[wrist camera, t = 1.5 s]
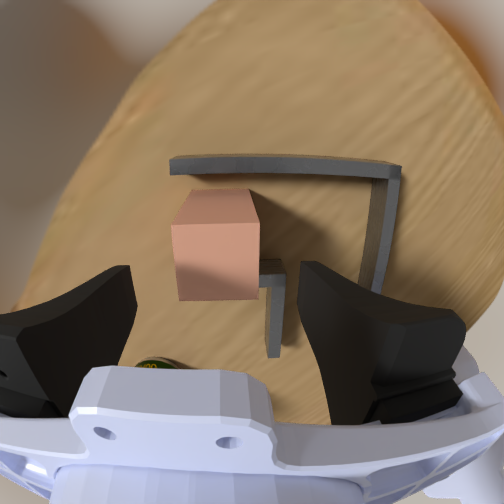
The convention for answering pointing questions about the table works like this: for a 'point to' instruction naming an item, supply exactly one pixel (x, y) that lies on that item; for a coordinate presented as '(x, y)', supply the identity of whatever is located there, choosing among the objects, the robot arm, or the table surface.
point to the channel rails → (381, 171)
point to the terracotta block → (217, 246)
